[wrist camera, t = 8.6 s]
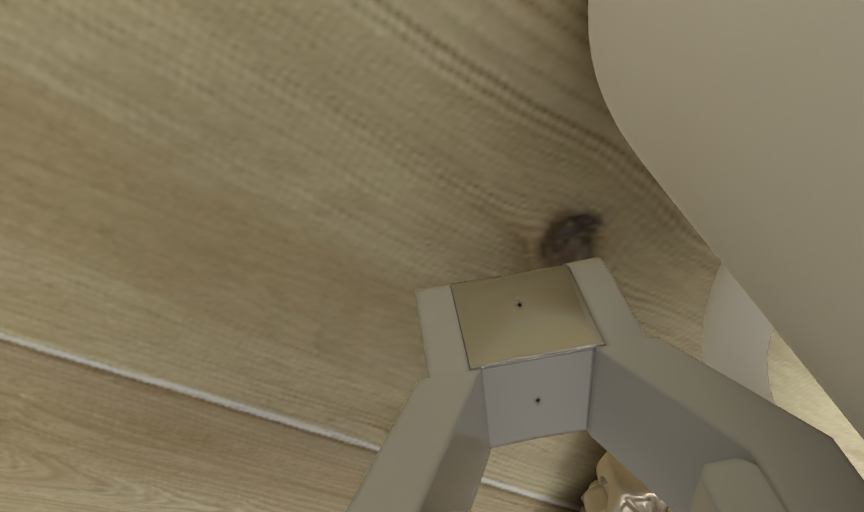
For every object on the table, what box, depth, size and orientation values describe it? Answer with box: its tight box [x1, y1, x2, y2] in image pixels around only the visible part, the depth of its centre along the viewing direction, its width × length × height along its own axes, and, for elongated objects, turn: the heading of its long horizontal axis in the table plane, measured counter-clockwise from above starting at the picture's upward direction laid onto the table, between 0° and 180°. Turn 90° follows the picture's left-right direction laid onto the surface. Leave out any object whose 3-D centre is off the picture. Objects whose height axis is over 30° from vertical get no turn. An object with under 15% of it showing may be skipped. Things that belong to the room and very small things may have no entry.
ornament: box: [581, 452, 674, 512], centre depth 18 cm, size 8×7×4 cm
